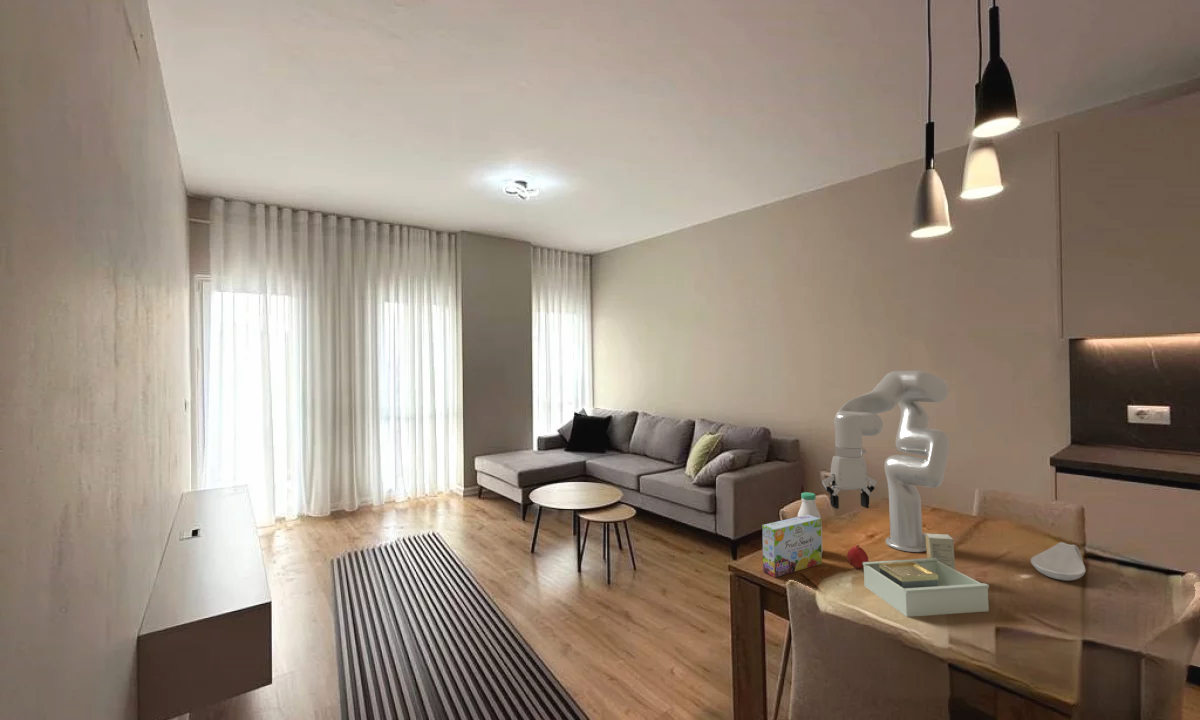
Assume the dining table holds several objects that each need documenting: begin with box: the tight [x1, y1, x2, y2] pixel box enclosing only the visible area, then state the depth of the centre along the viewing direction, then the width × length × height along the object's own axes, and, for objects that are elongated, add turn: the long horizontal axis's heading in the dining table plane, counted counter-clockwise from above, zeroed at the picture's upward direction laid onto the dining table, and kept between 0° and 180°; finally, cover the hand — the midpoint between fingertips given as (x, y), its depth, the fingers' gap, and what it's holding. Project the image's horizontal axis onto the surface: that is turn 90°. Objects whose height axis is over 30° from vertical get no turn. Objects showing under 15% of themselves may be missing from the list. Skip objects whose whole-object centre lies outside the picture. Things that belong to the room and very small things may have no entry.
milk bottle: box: [797, 491, 824, 553], centre depth 166 cm, size 8×8×20 cm
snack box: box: [761, 515, 823, 578], centre depth 153 cm, size 21×6×15 cm, turn 117°
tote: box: [863, 557, 990, 618], centre depth 130 cm, size 22×18×7 cm
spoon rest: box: [1030, 541, 1087, 582], centre depth 145 cm, size 24×12×7 cm, turn 126°
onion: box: [846, 543, 869, 570], centre depth 150 cm, size 6×6×8 cm
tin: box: [879, 561, 938, 589], centre depth 129 cm, size 10×9×8 cm
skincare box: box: [925, 532, 956, 570], centre depth 144 cm, size 6×4×12 cm
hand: (849, 507), depth 151 cm, fingers open, 9 cm apart
